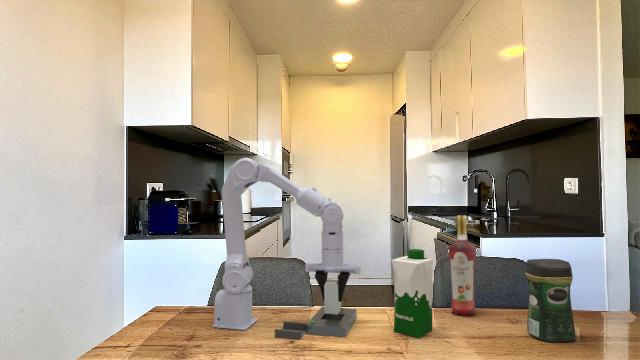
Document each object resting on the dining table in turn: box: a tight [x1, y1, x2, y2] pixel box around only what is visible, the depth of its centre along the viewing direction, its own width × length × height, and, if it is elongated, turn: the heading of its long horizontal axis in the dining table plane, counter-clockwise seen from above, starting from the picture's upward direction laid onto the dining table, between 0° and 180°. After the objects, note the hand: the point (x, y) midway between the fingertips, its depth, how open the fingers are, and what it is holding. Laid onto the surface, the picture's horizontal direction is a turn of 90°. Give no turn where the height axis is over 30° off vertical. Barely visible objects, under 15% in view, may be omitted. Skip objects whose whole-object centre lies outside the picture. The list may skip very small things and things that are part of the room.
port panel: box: [305, 306, 358, 338], centre depth 101 cm, size 10×16×3 cm, turn 165°
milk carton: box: [390, 248, 434, 339], centre depth 97 cm, size 9×9×20 cm
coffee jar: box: [525, 258, 576, 342], centre depth 92 cm, size 10×8×19 cm
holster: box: [274, 320, 308, 341], centre depth 95 cm, size 6×7×2 cm
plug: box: [323, 278, 342, 314], centre depth 101 cm, size 4×4×8 cm
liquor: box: [448, 215, 477, 317], centre depth 111 cm, size 7×7×28 cm
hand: (332, 300), depth 101 cm, fingers closed on plug, 4 cm apart
